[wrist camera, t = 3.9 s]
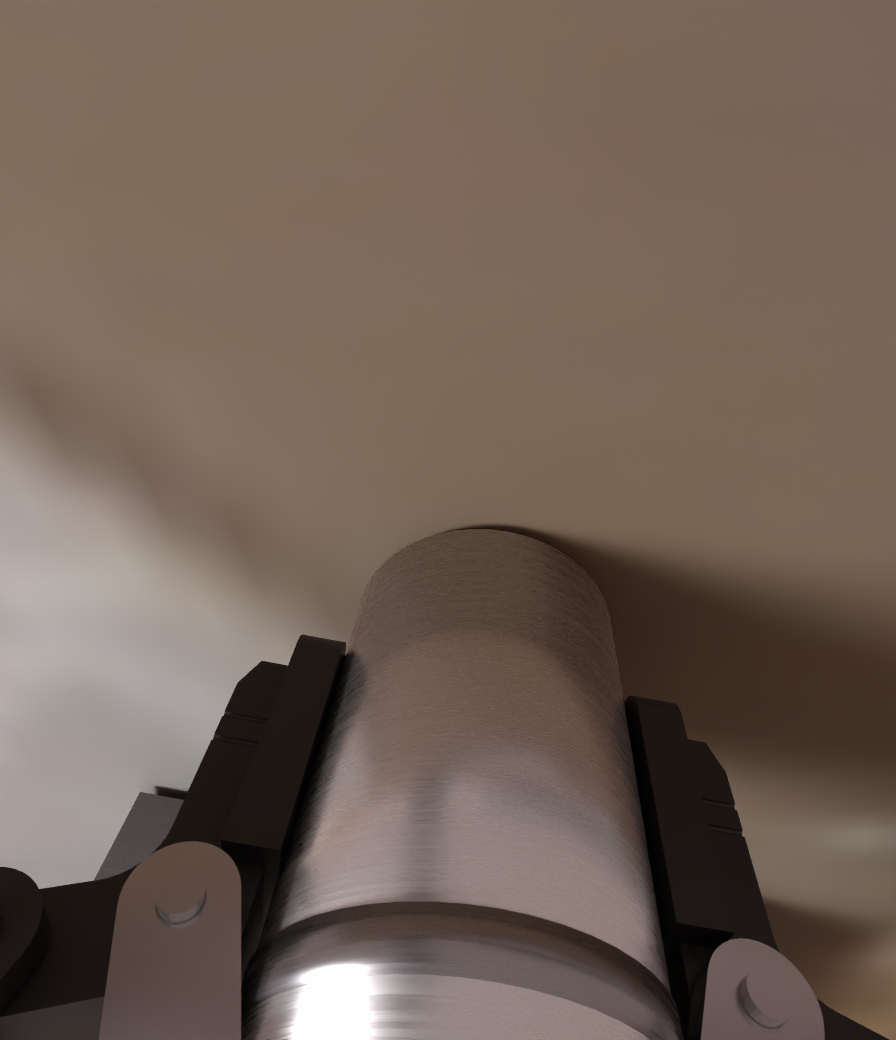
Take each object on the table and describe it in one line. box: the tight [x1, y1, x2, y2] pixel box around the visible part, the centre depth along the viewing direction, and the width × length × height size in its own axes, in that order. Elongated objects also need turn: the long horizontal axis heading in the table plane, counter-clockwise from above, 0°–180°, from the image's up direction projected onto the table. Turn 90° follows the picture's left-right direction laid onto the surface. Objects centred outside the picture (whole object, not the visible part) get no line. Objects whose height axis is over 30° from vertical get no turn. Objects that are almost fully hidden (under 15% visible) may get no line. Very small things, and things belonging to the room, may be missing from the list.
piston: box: [241, 529, 683, 1040], centre depth 10 cm, size 5×5×8 cm
